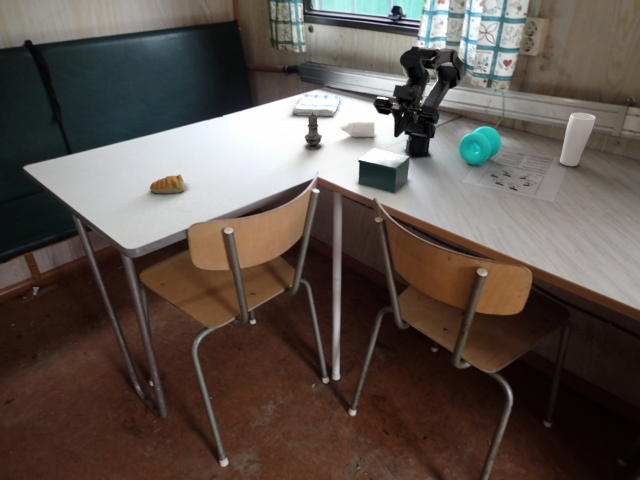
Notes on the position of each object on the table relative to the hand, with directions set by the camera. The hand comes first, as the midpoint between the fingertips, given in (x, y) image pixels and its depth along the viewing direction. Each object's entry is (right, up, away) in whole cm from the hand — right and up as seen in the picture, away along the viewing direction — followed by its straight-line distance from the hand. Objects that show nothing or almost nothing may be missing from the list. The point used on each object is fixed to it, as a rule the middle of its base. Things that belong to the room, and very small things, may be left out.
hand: (395, 136), depth 131 cm
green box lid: (-4, -7, -2) cm, 8 cm away
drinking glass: (+55, -6, +11) cm, 57 cm away
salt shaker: (-24, +2, +25) cm, 35 cm away
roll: (-8, +8, +33) cm, 35 cm away
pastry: (-64, -15, 0) cm, 66 cm away
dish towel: (-23, +26, +63) cm, 72 cm away
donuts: (+28, -5, +14) cm, 32 cm away
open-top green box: (-3, -13, +1) cm, 13 cm away
